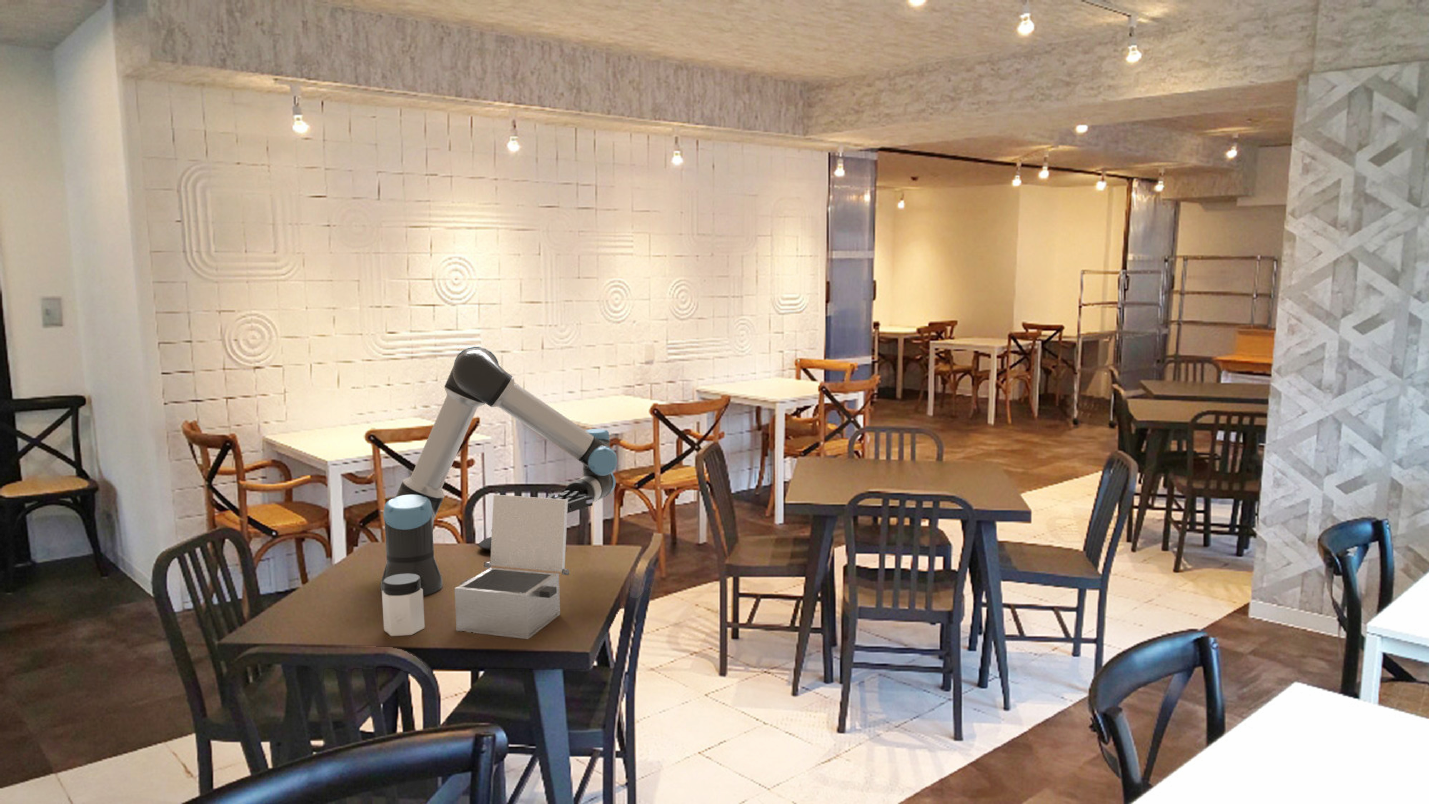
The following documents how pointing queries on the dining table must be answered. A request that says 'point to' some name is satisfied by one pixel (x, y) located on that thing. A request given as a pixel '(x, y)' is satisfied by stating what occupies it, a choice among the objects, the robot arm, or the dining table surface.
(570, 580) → the dining table surface
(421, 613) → the jar
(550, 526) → the lid
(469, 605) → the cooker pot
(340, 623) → the dining table surface
